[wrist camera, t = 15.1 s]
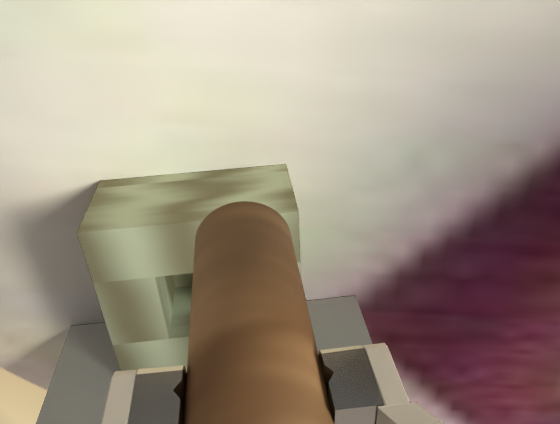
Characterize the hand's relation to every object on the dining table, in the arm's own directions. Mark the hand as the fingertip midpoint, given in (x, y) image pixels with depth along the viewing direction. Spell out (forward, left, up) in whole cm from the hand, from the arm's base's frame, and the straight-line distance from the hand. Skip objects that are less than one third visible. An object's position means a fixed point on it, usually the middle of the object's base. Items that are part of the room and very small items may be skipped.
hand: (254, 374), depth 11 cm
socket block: (+3, +11, -21) cm, 24 cm away
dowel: (0, 0, -5) cm, 5 cm away
